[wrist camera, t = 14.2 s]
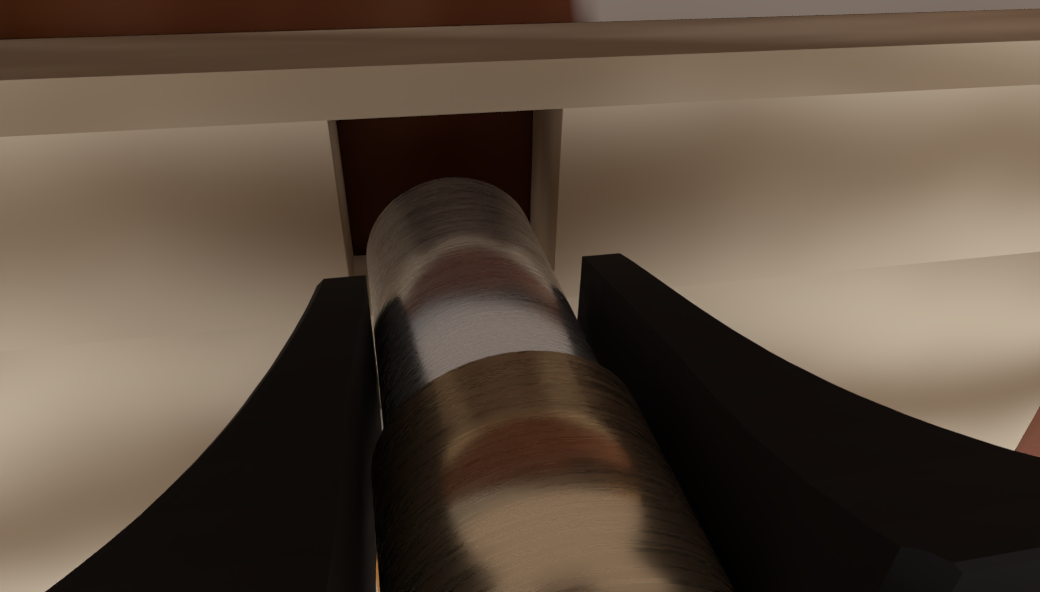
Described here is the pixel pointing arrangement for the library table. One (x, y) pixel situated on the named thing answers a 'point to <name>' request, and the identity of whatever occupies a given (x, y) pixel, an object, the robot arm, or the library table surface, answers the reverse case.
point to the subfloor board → (553, 217)
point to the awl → (508, 420)
